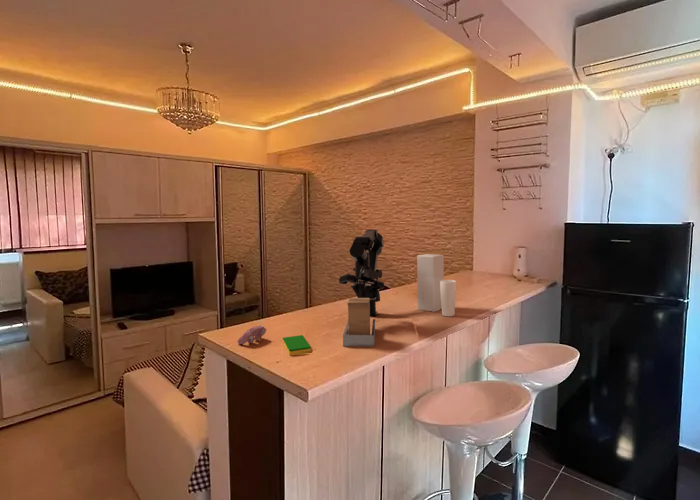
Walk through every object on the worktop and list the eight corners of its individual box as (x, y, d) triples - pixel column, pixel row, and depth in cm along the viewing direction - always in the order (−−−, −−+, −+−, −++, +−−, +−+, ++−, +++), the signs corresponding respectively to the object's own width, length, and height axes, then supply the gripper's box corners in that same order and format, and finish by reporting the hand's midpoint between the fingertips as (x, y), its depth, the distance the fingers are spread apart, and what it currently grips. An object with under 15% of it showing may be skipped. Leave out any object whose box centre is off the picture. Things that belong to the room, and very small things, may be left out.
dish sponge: (289, 357, 123) (289, 349, 123) (282, 344, 136) (282, 337, 136) (311, 354, 125) (311, 346, 125) (302, 341, 139) (302, 334, 138)
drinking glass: (456, 317, 164) (456, 282, 162) (440, 317, 165) (440, 282, 164) (455, 313, 170) (455, 279, 169) (439, 313, 172) (439, 279, 170)
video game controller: (244, 350, 133) (250, 334, 131) (235, 343, 135) (241, 326, 133) (264, 342, 142) (270, 326, 140) (255, 335, 144) (261, 320, 142)
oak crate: (350, 336, 139) (349, 297, 137) (370, 336, 138) (369, 297, 137) (348, 343, 131) (347, 302, 130) (369, 343, 131) (369, 302, 130)
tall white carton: (417, 309, 180) (416, 255, 178) (427, 305, 186) (427, 253, 184) (434, 312, 174) (433, 256, 172) (444, 308, 180) (443, 254, 178)
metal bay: (348, 330, 148) (348, 319, 148) (375, 331, 147) (375, 319, 147) (343, 348, 128) (342, 335, 128) (374, 348, 128) (373, 335, 127)
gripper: (355, 255, 146) (355, 296, 140) (392, 265, 156) (393, 303, 151) (338, 263, 154) (337, 301, 149) (375, 271, 165) (375, 308, 159)
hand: (362, 303), depth 152 cm, fingers closed
